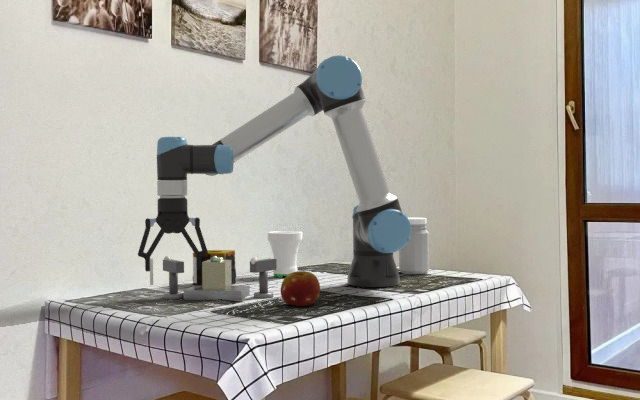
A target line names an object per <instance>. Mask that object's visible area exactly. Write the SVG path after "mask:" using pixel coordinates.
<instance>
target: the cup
mask: <svg viewBox="0 0 640 400" xmlns="http://www.w3.org/2000/svg"><path fill="white" fill-rule="evenodd" d="M303 235H304V234H303V231H296V230H275V231H268V232H267V241H268V242H269V244H270V247H271V250H272V255H273V259H276V270H272V271H273V276H274V277H275V278H279V279H283V278H284V276H285V277H286V276H287V275H288V274H290V273H293V272H297V271H298V265H297V262H298V260H297V259H298V252H299V249H300V245H301V242H302V241H303Z"/></svg>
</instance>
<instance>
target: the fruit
mask: <svg viewBox="0 0 640 400" xmlns="http://www.w3.org/2000/svg"><path fill="white" fill-rule="evenodd" d="M320 293H321V285H320V281H319V278H317V276H316V275H315V274H314V273H312V272H309V271H305V270H299V271H298V270H297V272H293V273H290V274H288V275H287V276H286V275H285V277H283V280H282V282H281V286H280V296H281V299H282V300H283V301H284V302H285V303H286V304H289V305H291V306H295V307H309V306H311V305H313V304H314V303H316V302H317V300H318V299H319V297H320Z"/></svg>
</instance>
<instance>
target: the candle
mask: <svg viewBox="0 0 640 400" xmlns="http://www.w3.org/2000/svg"><path fill="white" fill-rule="evenodd" d="M198 251H199V250H198ZM200 251H201V250H200ZM200 251H199V252H200ZM207 251H208V254H207V255H204V256H202V257H201V269H200V270H197V283H193V282H192V286H194V285H202V262H204V261H207V260H211V258H212V257H213V256H216V257H223V260H231V284H232V285H234V284H236V283H237V271H236V270H237V269H236V250H235V249H207ZM193 257H196V255H195V253H194V252H192V258H193Z"/></svg>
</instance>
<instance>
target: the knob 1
mask: <svg viewBox="0 0 640 400" xmlns="http://www.w3.org/2000/svg"><path fill="white" fill-rule="evenodd" d="M162 271H164V272H168V291H169V292H165V293H163V299H164V300H179V299H184V292H179V277H178V275H179V274H184V273H185V261H182V260H177V259H171V257H170V256H169V255H166V256H164V257H163V259H162Z"/></svg>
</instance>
